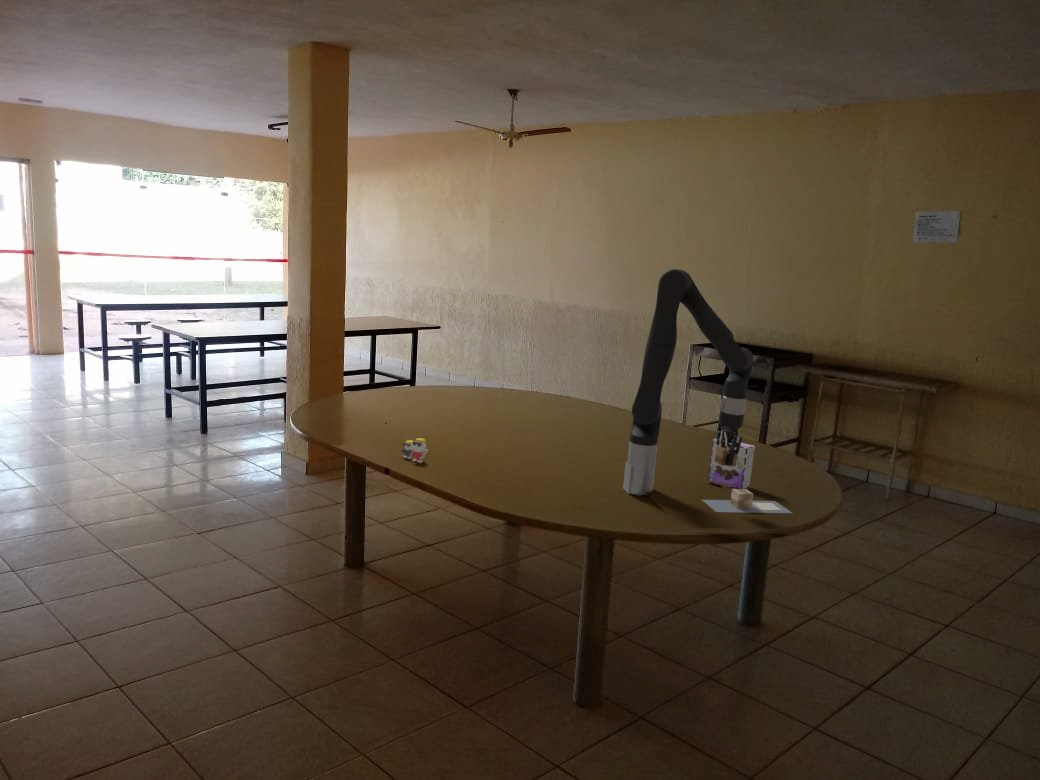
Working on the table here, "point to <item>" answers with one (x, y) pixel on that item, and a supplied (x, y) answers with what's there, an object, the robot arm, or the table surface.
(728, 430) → the robot arm
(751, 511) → the board
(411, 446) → the toy figures
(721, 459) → the walnut block
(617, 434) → the table surface
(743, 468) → the candy box
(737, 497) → the birch block
